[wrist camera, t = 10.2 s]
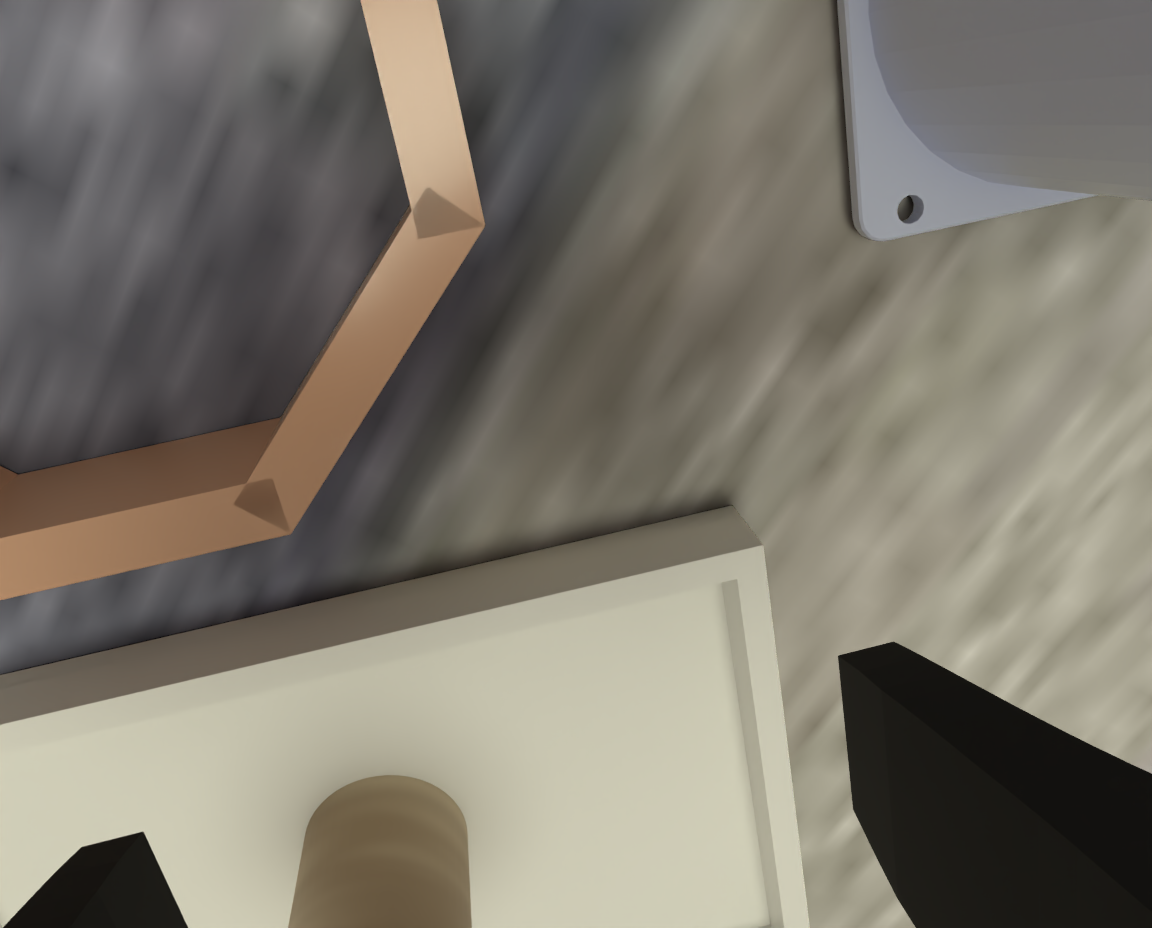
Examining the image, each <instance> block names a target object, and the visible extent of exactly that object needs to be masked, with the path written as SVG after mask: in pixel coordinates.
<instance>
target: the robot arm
mask: <svg viewBox="0 0 1152 928" xmlns="http://www.w3.org/2000/svg"><path fill="white" fill-rule="evenodd" d="M837 6H838V20H839V34H840V48H841V63H842V77H843V91H844V105H845V119H846V133H847V147H848V162H849V176H850V190H851V204H852V218H853V222H854V226H855V228H856V230H857V231H858V232H859V233H860V235H862V236H864V237H866V238H868V239H871V240H874V241H888V240H893V239H897V238H902V237H907V236H911V235H916V234H921V233H925V232H930V231H935V230H939V229H944V228H949V227H953V226H958V225H963V224H967V223H972V222H977V221H981V220H986V219H991V218H995V217H1000V216H1005V215H1009V214H1014V213H1019V212H1023V211H1028V210H1033V209H1037V208H1042V207H1047V206H1051V205H1056V204H1061V203H1065V202H1070V201H1075V200H1079V199H1084V198H1089V197H1093V196H1098V195H1103V196H1112V197H1121V198H1131V199H1140V200H1149V201H1152V0H837ZM907 196H910V197H911V198H912V200H913V203H914V208H913V212H912V214H911V215H910V216H909V218H908V219H906V220H904V221H901V220H900V219H899V216H898V213H897V210H898V205H899V203H900V202H901V201H902V199H903V198H905V197H907ZM838 660H839V670H840V680H841V690H842V701H843V711H844V721H845V731H846V741H847V751H848V761H849V771H850V781H851V792H852V802H853V810H854V812H855V814H856V816H857V818H858V820H859V822H860V824H861V826H862V828H863V830H864V832H865V834H866V837H867V839H868V841H869V843H870V845H871V847H872V849H873V851H874V853H875V855H876V857H877V859H878V861H879V863H880V865H881V867H882V869H883V871H884V873H885V875H886V877H887V879H888V881H889V883H890V885H891V887H892V889H893V890H894V892H895V894H896V896H897V898H898V900H899V902H900V903H901V905H902V906H903V908H904V910H905V911H906V913H907V914H908V916H909V917H910V919H911V921H912V922H913V924H914V925H915V927H916V928H1152V774H1151V773H1149V772H1147V771H1145V770H1142V769H1140V768H1138V767H1136V766H1134V765H1131V764H1129V763H1127V762H1125V761H1123V760H1121V759H1119V758H1117V757H1115V756H1113V755H1111V754H1109V753H1107V752H1104V751H1102V750H1100V749H1098V748H1096V747H1094V746H1092V745H1090V744H1088V743H1086V742H1084V741H1082V740H1080V739H1078V738H1076V737H1074V736H1072V735H1070V734H1068V733H1066V732H1064V731H1062V730H1060V729H1058V728H1056V727H1054V726H1052V725H1050V724H1048V723H1047V722H1045V721H1043V720H1041V719H1039V718H1037V717H1035V716H1033V715H1031V714H1029V713H1027V712H1025V711H1023V710H1022V709H1020V708H1018V707H1016V706H1014V705H1012V704H1010V703H1008V702H1006V701H1004V700H1003V699H1001V698H999V697H997V696H995V695H993V694H991V693H990V692H988V691H986V690H984V689H982V688H980V687H978V686H977V685H975V684H973V683H971V682H969V681H967V680H965V679H964V678H962V677H960V676H958V675H956V674H954V673H953V672H951V671H949V670H947V669H945V668H943V667H941V666H940V665H938V664H936V663H934V662H932V661H930V660H928V659H927V658H925V657H923V656H921V655H919V654H917V653H915V652H913V651H911V650H909V649H907V648H905V647H903V646H901V645H899V644H897V643H895V642H890V643H886V644H883V645H879V646H875V647H871V648H867V649H863V650H859V651H855V652H851V653H847V654H843V655H839V656H838ZM3 928H188V926H187V924H186V922H185V920H184V918H183V915H182V913H181V911H180V909H179V907H178V905H177V903H176V900H175V898H174V896H173V894H172V892H171V890H170V888H169V885H168V883H167V881H166V879H165V877H164V875H163V872H162V870H161V868H160V866H159V864H158V862H157V860H156V857H155V855H154V853H153V851H152V849H151V847H150V844H149V842H148V840H147V838H146V836H145V834H144V832H139V833H135V834H131V835H127V836H123V837H119V838H115V839H111V840H107V841H103V842H99V843H95V844H91V845H87V846H83V847H81V848H80V849H79V850H78V851H77V852H76V853H75V854H74V855H73V856H72V857H70V858H69V859H68V860H67V861H66V862H65V863H64V864H63V865H62V866H61V867H60V868H59V869H58V870H57V871H56V872H55V873H54V874H53V875H52V876H51V877H50V878H49V879H48V880H47V881H46V882H45V883H44V884H43V885H42V887H41V888H40V889H39V890H38V891H37V892H36V893H35V894H34V895H33V896H32V897H31V898H30V899H29V900H28V901H27V902H26V903H25V904H24V905H23V907H22V908H21V909H20V910H19V911H18V912H17V913H16V914H15V915H14V916H13V917H12V918H11V919H10V920H9V921H8V923H7V924H6V925H5V926H4V927H3Z"/></svg>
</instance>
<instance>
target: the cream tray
mask: <svg viewBox="0 0 1152 928" xmlns="http://www.w3.org/2000/svg"><path fill="white" fill-rule="evenodd" d="M384 775H400V776H407V777H412V778H416V779H420V780H423V781H425V782H428V783H430V784H432V785H434V786H436V787H438V788H440V789H441V790H442V791H444V792H445V793H447V794H448V795H449V796H450V797H451V798H452V799H453V800H454V801H455V803H456V804H457V805H458V807H459V808H460V810H461V812H462V813H463V816H464V819H465V821H466V826H467V832H468V854H469V876H470V898H471V920H472V928H810V926H809V918H808V909H807V901H806V893H805V885H804V876H803V868H802V860H801V852H800V843H799V835H798V827H797V819H796V810H795V802H794V794H793V786H792V777H791V769H790V761H789V753H788V744H787V736H786V728H785V720H784V712H783V703H782V695H781V687H780V679H779V670H778V662H777V654H776V646H775V637H774V629H773V621H772V613H771V604H770V596H769V588H768V580H767V571H766V563H765V555H764V547H763V544H762V543H761V541H760V540H759V539H758V538H757V536H756V535H755V534H754V532H753V531H752V530H751V529H750V527H749V526H748V525H747V523H746V522H745V521H744V520H743V518H742V517H741V516H740V514H739V513H738V512H737V511H736V509H735V508H734V507H733V505H732V506H727V507H723V508H719V509H714V510H710V511H706V512H701V513H697V514H693V515H688V516H684V517H680V518H675V519H671V520H667V521H663V522H658V523H654V524H650V525H645V526H641V527H637V528H632V529H628V530H624V531H619V532H615V533H611V534H607V535H602V536H598V537H594V538H589V539H585V540H581V541H576V542H572V543H568V544H563V545H559V546H555V547H551V548H546V549H542V550H538V551H533V552H529V553H525V554H520V555H516V556H512V557H507V558H503V559H499V560H494V561H490V562H486V563H482V564H477V565H473V566H469V567H464V568H460V569H456V570H451V571H447V572H443V573H438V574H434V575H430V576H426V577H421V578H417V579H413V580H408V581H404V582H400V583H395V584H391V585H387V586H382V587H378V588H374V589H369V590H365V591H361V592H357V593H352V594H348V595H344V596H339V597H335V598H331V599H326V600H322V601H318V602H313V603H309V604H305V605H301V606H296V607H292V608H288V609H283V610H279V611H275V612H270V613H266V614H262V615H257V616H253V617H249V618H245V619H240V620H236V621H232V622H227V623H223V624H219V625H214V626H210V627H206V628H201V629H197V630H193V631H188V632H184V633H180V634H176V635H171V636H167V637H163V638H158V639H154V640H150V641H145V642H141V643H137V644H132V645H128V646H124V647H120V648H115V649H111V650H107V651H102V652H98V653H94V654H89V655H85V656H81V657H76V658H72V659H68V660H63V661H59V662H55V663H51V664H46V665H42V666H38V667H33V668H29V669H25V670H20V671H16V672H12V673H7V674H3V675H0V928H3V927H4V926H5V925H6V924H7V923H8V921H9V920H10V919H11V918H12V917H13V916H14V915H15V914H16V913H17V912H18V911H19V910H20V909H21V908H22V907H23V905H24V904H25V903H26V902H27V901H28V900H29V899H30V898H31V897H32V896H33V895H34V894H35V893H36V892H37V891H38V890H39V889H40V888H41V887H42V885H43V884H44V883H45V882H46V881H47V880H48V879H49V878H50V877H51V876H52V875H53V874H54V873H55V872H56V871H57V870H58V869H59V868H60V867H61V866H62V865H63V864H64V863H65V862H66V861H67V860H68V859H69V858H70V857H72V856H73V855H74V854H75V853H76V852H77V851H78V850H79V849H80V848H81V847H83V846H87V845H91V844H95V843H99V842H103V841H107V840H111V839H115V838H119V837H123V836H127V835H131V834H135V833H139V832H144V834H145V836H146V838H147V840H148V842H149V844H150V847H151V849H152V851H153V853H154V855H155V857H156V860H157V862H158V864H159V866H160V868H161V870H162V872H163V875H164V877H165V879H166V881H167V883H168V885H169V888H170V890H171V892H172V894H173V896H174V898H175V900H176V903H177V905H178V907H179V909H180V911H181V913H182V915H183V918H184V920H185V922H186V924H187V926H188V928H288V925H289V920H290V914H291V909H292V904H293V898H294V893H295V887H296V882H297V876H298V871H299V865H300V860H301V854H302V849H303V843H304V838H305V833H306V829H307V826H308V823H309V821H310V819H311V817H312V815H313V814H314V812H315V810H316V809H317V808H318V807H319V805H320V804H321V803H322V802H323V801H324V800H325V799H326V798H327V797H329V796H330V795H331V794H333V793H334V792H335V791H337V790H339V789H340V788H342V787H344V786H346V785H348V784H350V783H353V782H355V781H358V780H362V779H365V778H369V777H375V776H384Z"/></svg>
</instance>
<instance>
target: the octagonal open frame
mask: <svg viewBox="0 0 1152 928" xmlns="http://www.w3.org/2000/svg"><path fill="white" fill-rule="evenodd" d="M361 4H362V8H363V12H364V16H365V21H366V25H367V29H368V33H369V37H370V41H371V45H372V49H373V53H374V58H375V62H376V66H377V70H378V74H379V78H380V82H381V86H382V90H383V95H384V99H385V103H386V107H387V111H388V115H389V119H390V123H391V128H392V132H393V136H394V140H395V144H396V148H397V152H398V156H399V160H400V165H401V169H402V173H403V177H404V181H405V185H406V189H407V193H408V197H409V202H410V205H409V207H408V208H407V210H406V212H405V213H404V215H403V217H402V218H401V220H400V222H399V223H398V225H397V226H396V228H395V230H394V231H393V233H392V235H391V236H390V238H389V240H388V241H387V243H386V245H385V246H384V248H383V250H382V251H381V253H380V255H379V256H378V258H377V259H376V261H375V263H374V264H373V266H372V268H371V269H370V271H369V273H368V274H367V276H366V278H365V279H364V281H363V283H362V284H361V286H360V287H359V289H358V291H357V292H356V294H355V296H354V297H353V299H352V301H351V302H350V304H349V306H348V307H347V309H346V311H345V312H344V314H343V316H342V317H341V319H340V320H339V322H338V324H337V325H336V327H335V329H334V330H333V332H332V334H331V335H330V337H329V339H328V340H327V342H326V344H325V345H324V347H323V349H322V350H321V352H320V353H319V355H318V357H317V358H316V360H315V362H314V363H313V365H312V367H311V368H310V370H309V372H308V373H307V375H306V377H305V378H304V380H303V381H302V383H301V385H300V386H299V388H298V390H297V391H296V393H295V395H294V396H293V398H292V400H291V401H290V403H289V405H288V406H287V408H286V410H285V411H284V413H283V414H282V416H281V417H280V418H276V419H271V420H266V421H262V422H257V423H253V424H248V425H244V426H239V427H234V428H230V429H225V430H221V431H216V432H211V433H207V434H202V435H198V436H193V437H188V438H184V439H179V440H175V441H170V442H165V443H161V444H156V445H152V446H147V447H143V448H138V449H133V450H129V451H124V452H120V453H115V454H110V455H106V456H101V457H97V458H92V459H87V460H83V461H78V462H74V463H69V464H64V465H60V466H55V467H51V468H46V469H42V470H37V471H32V472H28V473H23V474H19V475H18V474H16V473H14V472H12V471H10V470H8V469H5V468H3V467H1V466H0V600H3V599H7V598H12V597H16V596H21V595H25V594H29V593H34V592H38V591H43V590H47V589H51V588H56V587H60V586H65V585H69V584H73V583H78V582H82V581H87V580H91V579H96V578H100V577H104V576H109V575H113V574H118V573H122V572H126V571H131V570H135V569H140V568H144V567H148V566H153V565H157V564H162V563H166V562H171V561H175V560H179V559H184V558H188V557H193V556H197V555H201V554H206V553H210V552H215V551H219V550H224V549H228V548H232V547H237V546H241V545H246V544H250V543H254V542H259V541H263V540H268V539H272V538H276V537H281V536H285V535H290V534H291V533H292V532H293V530H294V529H295V527H296V525H297V524H298V522H299V521H300V519H301V518H302V516H303V514H304V513H305V511H306V510H307V508H308V506H309V505H310V503H311V502H312V500H313V498H314V497H315V495H316V494H317V492H318V491H319V489H320V487H321V486H322V484H323V483H324V481H325V479H326V478H327V476H328V475H329V473H330V471H331V470H332V468H333V467H334V465H335V464H336V462H337V460H338V459H339V457H340V456H341V454H342V452H343V451H344V449H345V448H346V446H347V445H348V443H349V441H350V440H351V438H352V437H353V435H354V433H355V432H356V430H357V429H358V427H359V425H360V424H361V422H362V421H363V419H364V418H365V416H366V414H367V413H368V411H369V410H370V408H371V406H372V405H373V403H374V402H375V400H376V398H377V397H378V395H379V394H380V392H381V391H382V389H383V387H384V386H385V384H386V383H387V381H388V379H389V378H390V376H391V375H392V373H393V372H394V370H395V368H396V367H397V365H398V364H399V362H400V360H401V359H402V357H403V356H404V354H405V352H406V351H407V349H408V348H409V346H410V345H411V343H412V341H413V340H414V338H415V337H416V335H417V333H418V332H419V330H420V329H421V327H422V325H423V324H424V322H425V321H426V319H427V318H428V316H429V314H430V313H431V311H432V310H433V308H434V306H435V305H436V303H437V302H438V300H439V299H440V297H441V295H442V294H443V292H444V291H445V289H446V287H447V286H448V284H449V283H450V281H451V279H452V278H453V276H454V275H455V273H456V272H457V270H458V268H459V267H460V265H461V264H462V262H463V260H464V259H465V257H466V256H467V254H468V252H469V251H470V249H471V248H472V246H473V245H474V243H475V241H476V240H477V238H478V237H479V235H480V233H481V232H482V230H483V229H484V227H485V221H484V217H483V212H482V207H481V203H480V198H479V193H478V189H477V184H476V180H475V175H474V170H473V166H472V161H471V156H470V152H469V147H468V142H467V138H466V133H465V128H464V124H463V119H462V115H461V110H460V105H459V101H458V96H457V91H456V87H455V82H454V77H453V73H452V68H451V64H450V59H449V54H448V50H447V45H446V40H445V36H444V31H443V26H442V22H441V17H440V12H439V8H438V3H437V0H361Z"/></svg>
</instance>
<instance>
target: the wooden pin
mask: <svg viewBox="0 0 1152 928" xmlns="http://www.w3.org/2000/svg"><path fill="white" fill-rule="evenodd" d="M288 928H472V920H471V898H470V876H469V854H468V832H467V826H466V821H465V819H464V816H463V813H462V812H461V810H460V808H459V807H458V805H457V804H456V803H455V801H454V800H453V799H452V798H451V797H450V796H449V795H448V794H447V793H445V792H444V791H442V790H441V789H440V788H438V787H436V786H434V785H432V784H430V783H428V782H425V781H423V780H420V779H416V778H412V777H407V776H400V775H384V776H375V777H369V778H365V779H362V780H358V781H355V782H353V783H350V784H348V785H346V786H344V787H342V788H340V789H339V790H337V791H335V792H334V793H333V794H331V795H330V796H329V797H327V798H326V799H325V800H324V801H323V802H322V803H321V804H320V805H319V807H318V808H317V809H316V810H315V812H314V814H313V815H312V817H311V819H310V821H309V823H308V826H307V829H306V833H305V838H304V843H303V849H302V854H301V860H300V865H299V871H298V876H297V882H296V887H295V893H294V898H293V904H292V909H291V914H290V920H289V925H288Z"/></svg>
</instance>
